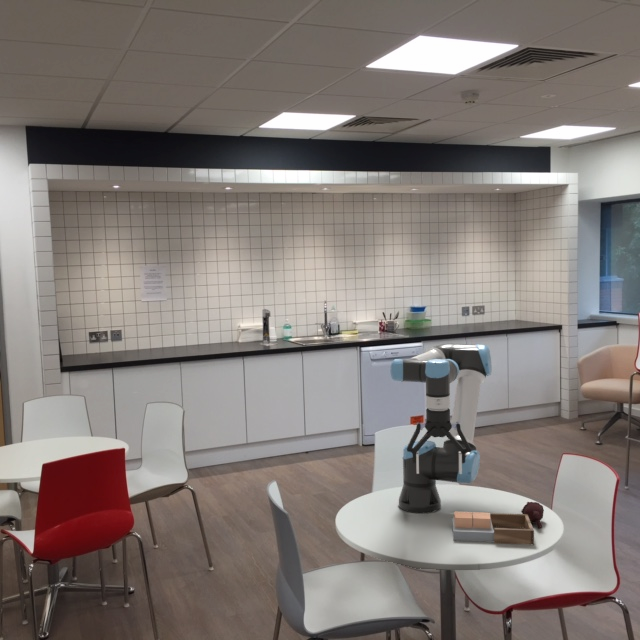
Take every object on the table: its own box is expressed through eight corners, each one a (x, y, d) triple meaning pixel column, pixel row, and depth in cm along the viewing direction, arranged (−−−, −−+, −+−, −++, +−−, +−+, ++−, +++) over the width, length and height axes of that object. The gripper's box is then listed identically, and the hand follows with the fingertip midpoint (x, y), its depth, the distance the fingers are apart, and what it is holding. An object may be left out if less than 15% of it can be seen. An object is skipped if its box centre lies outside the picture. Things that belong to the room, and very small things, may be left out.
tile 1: (454, 520, 232) (454, 511, 231) (471, 521, 231) (471, 512, 231) (454, 527, 226) (454, 517, 226) (472, 527, 225) (472, 518, 225)
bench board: (452, 525, 235) (452, 517, 235) (490, 527, 233) (490, 518, 233) (453, 540, 223) (453, 531, 223) (494, 541, 222) (494, 532, 221)
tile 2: (472, 521, 231) (472, 512, 231) (489, 522, 230) (489, 512, 230) (473, 527, 225) (473, 518, 225) (490, 528, 225) (490, 518, 224)
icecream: (515, 495, 245) (524, 515, 230) (536, 490, 244) (547, 509, 229) (519, 513, 246) (529, 534, 231) (540, 508, 245) (552, 528, 230)
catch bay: (490, 526, 234) (490, 513, 234) (527, 527, 233) (527, 514, 232) (494, 543, 221) (494, 529, 220) (533, 544, 219) (533, 530, 218)
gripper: (398, 411, 222) (400, 476, 224) (479, 410, 219) (479, 476, 221) (398, 405, 229) (400, 468, 232) (476, 405, 226) (477, 468, 229)
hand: (438, 472), depth 226 cm, fingers open, 13 cm apart
